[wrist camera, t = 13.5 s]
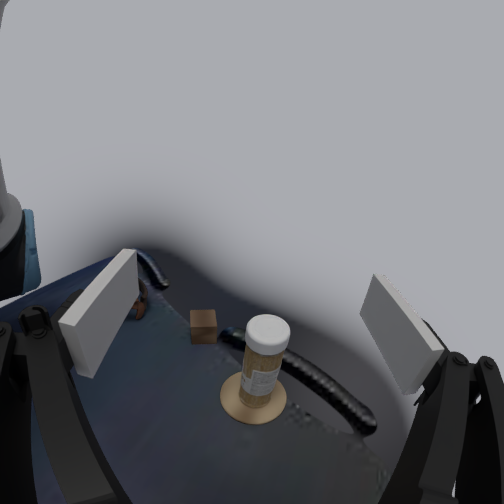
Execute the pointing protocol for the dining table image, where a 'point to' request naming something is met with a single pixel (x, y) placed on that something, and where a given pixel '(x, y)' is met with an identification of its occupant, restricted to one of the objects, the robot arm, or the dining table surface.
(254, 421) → the cork coaster
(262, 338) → the sprinkles bottle
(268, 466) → the dining table surface
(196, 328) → the walnut block
